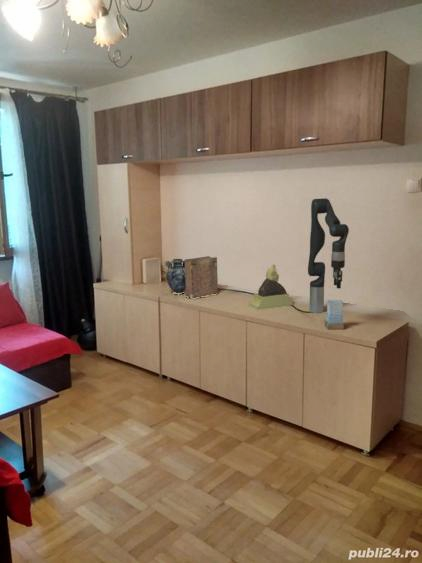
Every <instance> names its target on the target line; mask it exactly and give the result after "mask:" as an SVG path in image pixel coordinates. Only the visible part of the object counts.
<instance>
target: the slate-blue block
mask: <svg viewBox="0 0 422 563" xmlns="http://www.w3.org/2000/svg"><path fill="white" fill-rule="evenodd" d="M324 317H325V318H324V321H325V320H326V321H327V322H328V323H344V322H343V320H344V316H343V314H342V315H336V316H329V315H328V314H327V312H326V313H325V316H324Z"/></svg>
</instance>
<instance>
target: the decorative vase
mask: <svg viewBox="0 0 422 563" xmlns="http://www.w3.org/2000/svg"><path fill="white" fill-rule="evenodd" d="M186 259H187V258H186ZM186 259H184V260H183V258H173V259H172V260H171V261H170V260H167V261H165V267H167V271H166V281H167V284H168V286H169V288H170V289H171V290H172V292H176V293H182V292H185V291H186V285H185V260H186Z"/></svg>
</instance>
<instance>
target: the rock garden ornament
mask: <svg viewBox="0 0 422 563" xmlns="http://www.w3.org/2000/svg"><path fill="white" fill-rule="evenodd" d="M265 277H266V278H265V279H264V281H262V283H261V285H260V286H259V288H258V293H256V294H255V293H254V295H253V299H252V301H250V302H249V303H248V307H250V306H251V307H250V308H252V307H253V308H252V309H254V308H255V309H254V310H256V309H257V311H260V310H259V309H262V310H269V309H268V308H270V309H274V308H275V307H277V308H283V307H282V306H285V307H290V305H292V306H293V304H294V303H293V302H292V301H291V300H290V294H289V293H287V290H286V288H285V286H283V285H282V284H281V283H279V278H280V275H279V274H278V271H277V269H276V264H271V266H270V267H269V268H268V269H266V272H265ZM275 309H276V308H275Z"/></svg>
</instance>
